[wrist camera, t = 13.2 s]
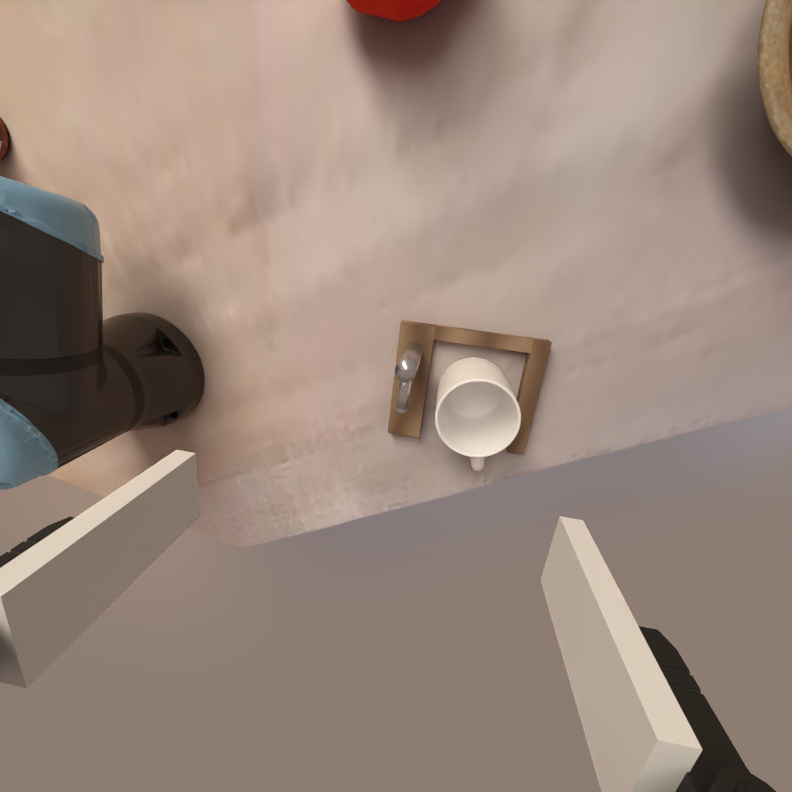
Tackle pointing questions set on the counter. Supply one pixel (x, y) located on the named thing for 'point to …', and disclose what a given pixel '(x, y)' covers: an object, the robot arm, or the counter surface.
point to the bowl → (777, 68)
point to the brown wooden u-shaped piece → (428, 333)
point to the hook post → (407, 373)
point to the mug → (476, 410)
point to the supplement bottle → (3, 140)
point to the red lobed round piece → (394, 8)
